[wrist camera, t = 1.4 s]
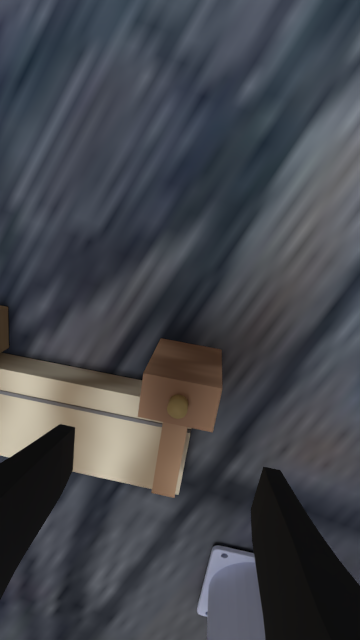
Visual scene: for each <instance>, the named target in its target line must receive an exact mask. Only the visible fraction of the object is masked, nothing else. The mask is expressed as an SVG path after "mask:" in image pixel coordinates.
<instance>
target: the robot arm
mask: <svg viewBox="0 0 360 640" xmlns="http://www.w3.org/2000/svg"><path fill="white" fill-rule="evenodd" d="M74 441H75V427H72V426H67V425H62V424H59V425H58V426H56V427H55V428H53V429H52V430H50V431H49V432H47V433H46V434H44V435H43V436H41V437H40V438H38V439H37V440H36V441H34V442H33V443H31V444H30V445H28V446H27V447H25V448H24V449H22V450H20V451H19V452H17V453H16V454H14V455H13V456H11V457H10V458H8V459H7V460H5V461H3V462H2V463H0V599H1V597H2V595H3V593H4V591H5V589H6V587H7V585H8V583H9V581H10V580H11V578H12V576H13V574H14V572H15V570H16V568H17V567H18V565H19V563H20V561H21V560H22V558H23V556H24V555H25V553H26V551H27V550H28V548H29V547H30V545H31V543H32V542H33V540H34V538H35V537H36V535H37V534H38V532H39V530H40V529H41V527H42V526H43V524H44V522H45V521H46V519H47V517H48V516H49V514H50V513H51V511H52V509H53V508H54V506H55V504H56V503H57V501H58V499H59V498H60V496H61V494H62V492H63V490H64V488H65V486H66V484H67V481H68V479H69V477H70V475H71V473H72V471H73V459H74ZM251 526H252V542H253V550H254V553H250V552H246V551H242V550H237V549H233V548H229V547H224V546H220V545H216V546H214V547H213V548H212V551H211V555H210V559H209V562H208V566H207V570H206V574H205V578H204V582H203V586H202V590H201V593H200V597H199V601H198V605H197V612H198V614H199V615H202V616H206V617H207V640H360V586H359V584H358V583H357V582H356V581H355V579H354V578H353V577H352V576H351V575H350V573H349V572H348V571H347V570H346V568H345V567H344V566H343V564H342V563H341V562H340V561H339V559H338V558H337V557H336V555H335V554H334V553H333V551H332V550H331V548H330V547H329V546H328V544H327V543H326V541H325V540H324V539H323V537H322V536H321V534H320V533H319V531H318V530H317V528H316V527H315V525H314V524H313V522H312V521H311V519H310V518H309V516H308V515H307V513H306V512H305V510H304V508H303V507H302V505H301V504H300V502H299V500H298V499H297V497H296V495H295V494H294V492H293V491H292V489H291V487H290V486H289V484H288V482H287V481H286V479H285V477H284V476H283V474H282V472H281V471H280V470H276V469H271V468H267V467H263V470H262V473H261V477H260V480H259V484H258V487H257V490H256V494H255V497H254V500H253V504H252V507H251Z"/></svg>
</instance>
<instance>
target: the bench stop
mask: <svg viewBox="0 0 360 640" xmlns="http://www.w3.org/2000/svg"><path fill="white" fill-rule="evenodd" d="M8 348H9V327H8V307H6V306H0V353H1V352H2V351H4V350H6V349H8Z"/></svg>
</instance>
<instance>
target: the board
mask: <svg viewBox="0 0 360 640" xmlns="http://www.w3.org/2000/svg"><path fill="white" fill-rule="evenodd" d="M141 387H142V380H137V379H132V378H127V377H122V376H117V375H112V374H107V373H102V372H97V371H92V370H87V369H82V368H77V367H72V366H67V365H62V364H56V363H51V362H46V361H41V360H36V359H31V358H26V357H21V356H16V355H11V354H6V353H0V456H5V457H9V458H10V457H11V456H13V455H14V454H16V453H17V452H19V451H20V450H22V449H24V448H25V447H27V446H28V445H30V444H31V443H33V442H34V441H36V440H37V439H38V438H40V437H41V436H43V435H44V434H46V433H47V432H49V431H50V430H52V429H53V428H55V427H56V426H58V425H59V424H62V425H67V426H72V427H75V441H74V459H73V472H77V473H82V474H86V475H91V476H95V477H100V478H104V479H109V480H114V481H118V482H123V483H127V484H132V485H136V486H141V487H145V488H150V489H152V487H153V480H154V474H155V468H156V462H157V455H158V449H159V443H160V437H161V430H162V424H163V422H160V421H155V420H150V419H146V418H141V417H138V410H139V402H140V395H141ZM190 434H191V428H189V427H188V428H187V433H186V439H185V444H184V449H183V454H182V460H181V465H180V470H179V475H178V481H177V486H176V491H175V494H177V495H179V490H180V485H181V479H182V474H183V469H184V464H185V459H186V454H187V449H188V444H189V439H190Z"/></svg>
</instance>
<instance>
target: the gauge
mask: <svg viewBox="0 0 360 640" xmlns="http://www.w3.org/2000/svg"><path fill="white" fill-rule="evenodd" d="M221 393H222V350H221V349H216V348H210V347H205V346H200V345H194V344H189V343H184V342H178V341H173V340H168V339H162V338H161V339H160V341H159V343H158V345H157V347H156V349H155V351H154V353H153V355H152V357H151V359H150V361H149V363H148V365H147V367H146V369H145V371H144V373H143V379H142V387H141V395H140V402H139V410H138V417H141V418H146V419H150V420H155V421H160V422H163V424H162V430H161V437H160V443H159V449H158V455H157V462H156V468H155V474H154V480H153V487H152V493H155V494H159V495H164V496H168V497H173V498H174V496H175V491H176V486H177V481H178V475H179V470H180V465H181V460H182V454H183V449H184V444H185V439H186V433H187V428H188V427H189V428H194V429H199V430H204V431H209V432H213V429H214V424H215V420H216V415H217V411H218V406H219V402H220V397H221Z"/></svg>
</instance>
